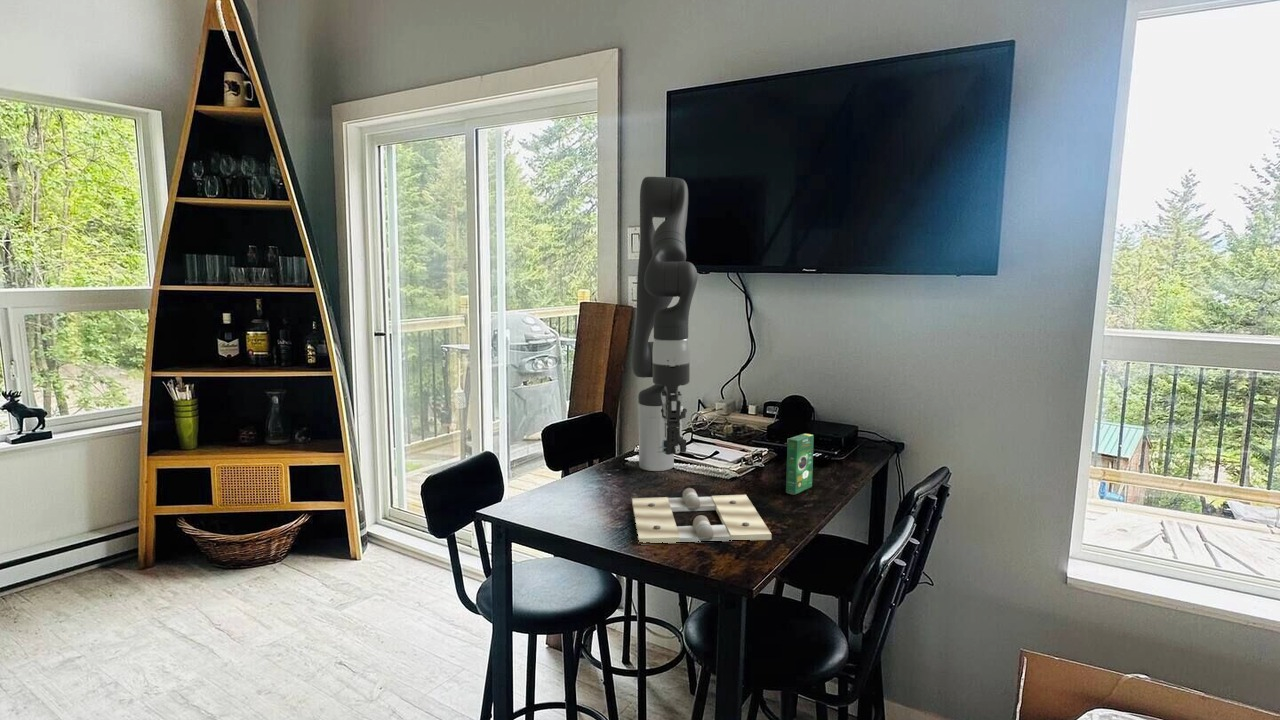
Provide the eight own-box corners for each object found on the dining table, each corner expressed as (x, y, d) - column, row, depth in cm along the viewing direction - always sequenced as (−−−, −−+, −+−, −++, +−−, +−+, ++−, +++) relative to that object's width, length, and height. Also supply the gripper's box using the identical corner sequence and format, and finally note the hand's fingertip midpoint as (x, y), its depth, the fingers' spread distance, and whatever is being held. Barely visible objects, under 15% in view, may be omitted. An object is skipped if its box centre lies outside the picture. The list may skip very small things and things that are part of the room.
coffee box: (802, 484, 171) (804, 431, 169) (813, 487, 169) (814, 433, 167) (784, 492, 165) (786, 438, 163) (795, 495, 163) (797, 440, 161)
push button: (665, 458, 142) (665, 410, 140) (650, 452, 146) (650, 405, 145) (691, 453, 146) (692, 405, 144) (676, 447, 150) (676, 401, 148)
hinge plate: (632, 503, 159) (632, 489, 158) (746, 499, 161) (746, 486, 160) (638, 544, 136) (638, 528, 136) (771, 539, 138) (771, 524, 137)
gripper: (650, 355, 150) (651, 434, 153) (654, 366, 136) (655, 452, 138) (685, 355, 150) (685, 433, 153) (693, 365, 136) (693, 451, 139)
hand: (671, 442), depth 146 cm, fingers closed on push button, 4 cm apart
